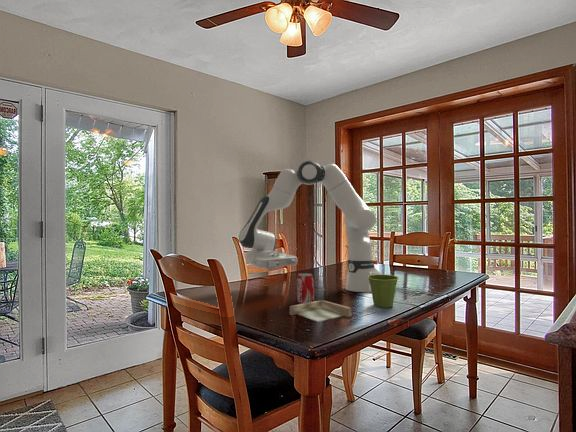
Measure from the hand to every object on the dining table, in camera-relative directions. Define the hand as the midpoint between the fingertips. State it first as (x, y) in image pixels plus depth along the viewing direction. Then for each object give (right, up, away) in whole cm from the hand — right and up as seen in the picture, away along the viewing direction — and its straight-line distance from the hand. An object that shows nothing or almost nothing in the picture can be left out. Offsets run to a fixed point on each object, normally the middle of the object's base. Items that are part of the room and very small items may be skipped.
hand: (286, 263), depth 153 cm
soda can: (+8, -15, -11) cm, 20 cm away
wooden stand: (+12, -15, -27) cm, 33 cm away
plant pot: (+38, -15, -15) cm, 43 cm away
